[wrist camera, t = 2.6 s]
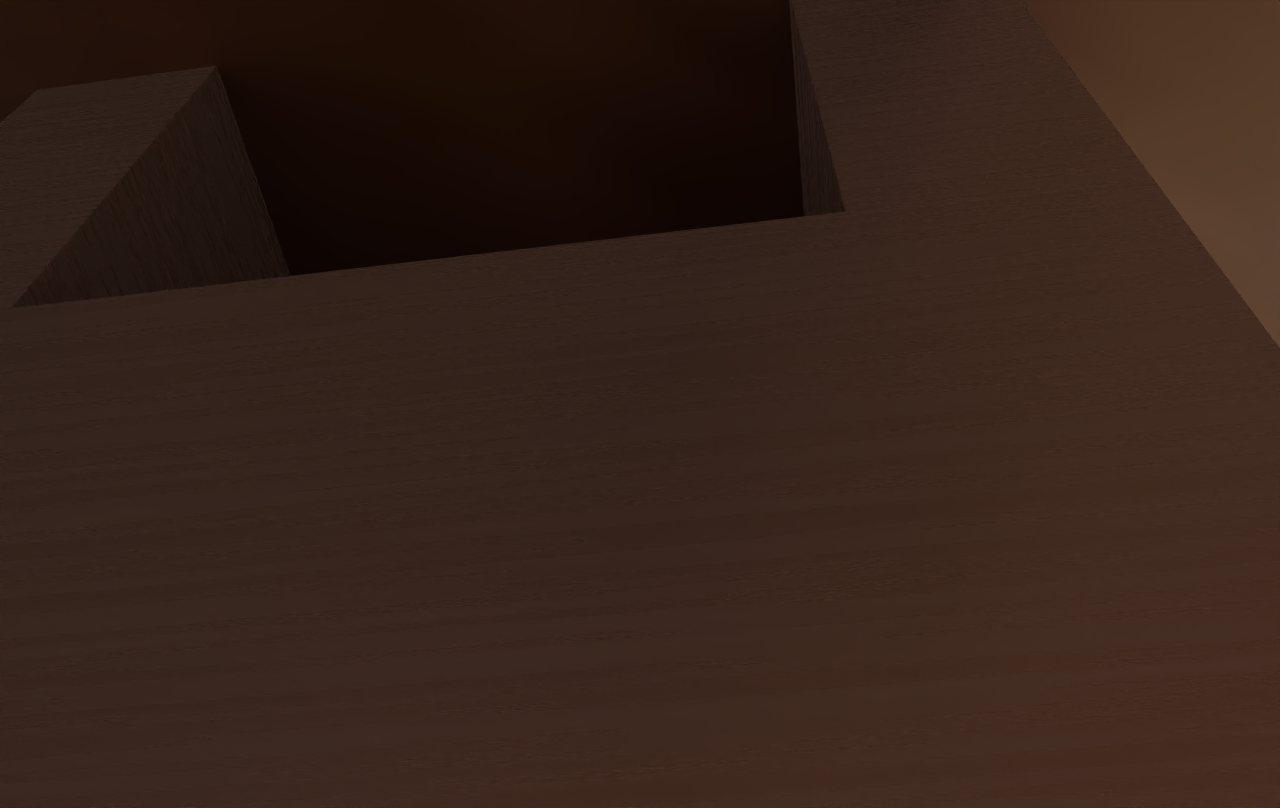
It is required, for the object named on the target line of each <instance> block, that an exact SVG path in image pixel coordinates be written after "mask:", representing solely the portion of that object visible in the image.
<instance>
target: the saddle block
mask: <svg viewBox="0 0 1280 808" xmlns="http://www.w3.org/2000/svg"><path fill="white" fill-rule="evenodd" d="M789 6H790V21H791V36H792V50H793V65H794V79H795V94H796V109H797V123H798V138H799V152H800V167H801V182H802V196H803V211H804V217H795V218H786V219H778V220H769V221H761V222H752V223H743V224H735V225H726V226H717V227H709V228H700V229H691V230H683V231H674V232H666V233H657V234H648V235H640V236H631V237H622V238H614V239H605V240H597V241H588V242H579V243H571V244H562V245H553V246H545V247H536V248H527V249H519V250H510V251H502V252H493V253H484V254H476V255H467V256H458V257H450V258H441V259H433V260H424V261H415V262H407V263H398V264H389V265H381V266H372V267H363V268H355V269H346V270H338V271H329V272H320V273H312V274H303V275H294V276H291V275H290V272H289V269H288V267H287V264H286V261H285V258H284V255H283V252H282V250H281V247H280V244H279V241H278V238H277V235H276V232H275V230H274V227H273V224H272V221H271V218H270V215H269V213H268V210H267V207H266V204H265V201H264V198H263V195H262V193H261V190H260V187H259V184H258V181H257V178H256V176H255V173H254V170H253V167H252V164H251V161H250V158H249V156H248V153H247V150H246V147H245V144H244V141H243V139H242V136H241V133H240V130H239V127H238V124H237V121H236V119H235V116H234V113H233V110H232V107H231V104H230V102H229V99H228V96H227V93H226V90H225V87H224V84H223V82H222V79H221V76H220V73H219V70H218V67H217V66H210V67H203V68H195V69H188V70H181V71H173V72H166V73H158V74H151V75H143V76H136V77H128V78H121V79H113V80H106V81H99V82H91V83H84V84H76V85H69V86H61V87H54V88H46V89H39V90H37V91H36V92H35V93H33V94H32V95H31V96H30V97H29V98H28V99H27V100H26V101H24V102H23V103H22V104H21V105H20V106H19V107H18V108H16V109H15V110H14V111H13V112H12V113H11V114H10V115H9V116H7V117H6V118H5V119H4V120H3V121H2V122H1V123H0V808H1280V348H1279V347H1278V345H1277V344H1276V343H1275V341H1274V340H1273V339H1272V337H1271V336H1270V335H1269V333H1268V332H1267V331H1266V329H1265V328H1264V327H1263V325H1262V324H1261V323H1260V321H1259V320H1258V318H1257V317H1256V316H1255V314H1254V313H1253V312H1252V310H1251V309H1250V308H1249V306H1248V305H1247V304H1246V302H1245V301H1244V300H1243V298H1242V297H1241V296H1240V294H1239V293H1238V292H1237V290H1236V289H1235V288H1234V286H1233V285H1232V284H1231V282H1230V281H1229V280H1228V278H1227V277H1226V276H1225V274H1224V273H1223V272H1222V270H1221V269H1220V268H1219V266H1218V265H1217V264H1216V262H1215V261H1214V260H1213V258H1212V257H1211V256H1210V254H1209V253H1208V252H1207V250H1206V249H1205V248H1204V246H1203V245H1202V243H1201V242H1200V241H1199V239H1198V238H1197V237H1196V235H1195V234H1194V233H1193V231H1192V230H1191V229H1190V227H1189V226H1188V225H1187V223H1186V222H1185V221H1184V219H1183V218H1182V217H1181V215H1180V214H1179V213H1178V211H1177V210H1176V209H1175V207H1174V206H1173V205H1172V203H1171V202H1170V201H1169V199H1168V198H1167V197H1166V195H1165V194H1164V193H1163V191H1162V190H1161V189H1160V187H1159V186H1158V185H1157V183H1156V182H1155V181H1154V179H1153V178H1152V177H1151V175H1150V174H1149V173H1148V171H1147V170H1146V168H1145V167H1144V166H1143V164H1142V163H1141V162H1140V160H1139V159H1138V158H1137V156H1136V155H1135V154H1134V152H1133V151H1132V150H1131V148H1130V147H1129V146H1128V144H1127V143H1126V142H1125V140H1124V139H1123V138H1122V136H1121V135H1120V134H1119V132H1118V131H1117V130H1116V128H1115V127H1114V126H1113V124H1112V123H1111V122H1110V120H1109V119H1108V118H1107V116H1106V115H1105V114H1104V112H1103V111H1102V110H1101V108H1100V107H1099V106H1098V104H1097V103H1096V102H1095V100H1094V99H1093V98H1092V96H1091V95H1090V93H1089V92H1088V91H1087V89H1086V88H1085V87H1084V85H1083V84H1082V83H1081V81H1080V80H1079V79H1078V77H1077V76H1076V75H1075V73H1074V72H1073V71H1072V69H1071V68H1070V67H1069V65H1068V64H1067V63H1066V61H1065V60H1064V59H1063V57H1062V56H1061V55H1060V53H1059V52H1058V51H1057V49H1056V48H1055V47H1054V45H1053V44H1052V43H1051V41H1050V40H1049V39H1048V37H1047V36H1046V35H1045V33H1044V32H1043V31H1042V29H1041V28H1040V27H1039V25H1038V24H1037V23H1036V21H1035V20H1034V18H1033V17H1032V16H1031V14H1030V13H1029V12H1028V10H1027V9H1026V8H1025V6H1024V5H1023V4H1022V2H1021V1H1020V0H789Z"/></svg>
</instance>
